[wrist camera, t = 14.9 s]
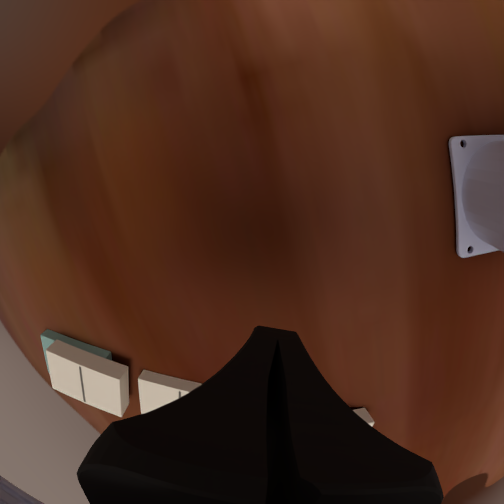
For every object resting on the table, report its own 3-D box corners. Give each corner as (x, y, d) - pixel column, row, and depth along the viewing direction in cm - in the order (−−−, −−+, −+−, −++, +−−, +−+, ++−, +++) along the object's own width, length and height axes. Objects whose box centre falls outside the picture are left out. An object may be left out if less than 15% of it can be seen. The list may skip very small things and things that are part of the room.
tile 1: (104, 359, 23) (40, 335, 23) (109, 397, 24) (48, 372, 24) (114, 347, 25) (51, 325, 25) (118, 385, 26) (58, 362, 26)
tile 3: (224, 399, 22) (137, 379, 23) (220, 435, 24) (141, 415, 24) (228, 384, 24) (146, 365, 25) (224, 420, 26) (148, 402, 26)
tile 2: (119, 380, 21) (45, 350, 21) (121, 417, 22) (52, 388, 22) (128, 366, 23) (56, 339, 23) (129, 403, 24) (62, 377, 24)
